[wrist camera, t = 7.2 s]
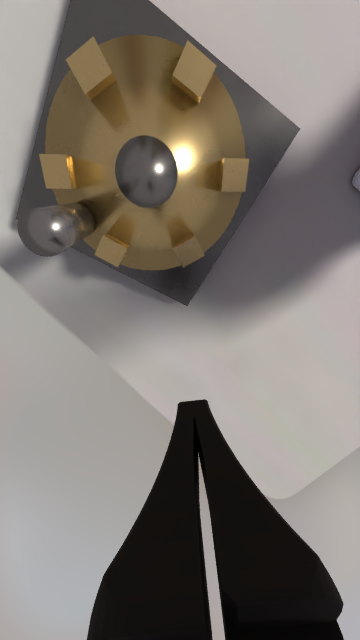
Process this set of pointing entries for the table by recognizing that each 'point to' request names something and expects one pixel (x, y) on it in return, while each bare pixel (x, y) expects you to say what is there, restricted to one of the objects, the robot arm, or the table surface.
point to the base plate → (253, 110)
